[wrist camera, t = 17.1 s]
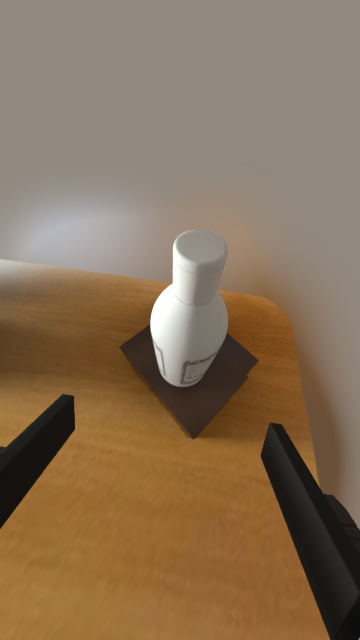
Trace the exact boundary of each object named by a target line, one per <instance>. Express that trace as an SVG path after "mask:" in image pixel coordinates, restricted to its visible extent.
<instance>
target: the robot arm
mask: <svg viewBox="0 0 360 640" xmlns="http://www.w3.org/2000/svg"><path fill="white" fill-rule="evenodd" d="M74 430H75V414H74V396H72V395H65V394H62V395H61V396H60V397H59V398H58V399H57V400H56V401H55V402H54V403H53V404H52V405H51V406H50V407H49V408H47V409H46V410H45V411H44V412H43V413H42V414H41V415H40V416H39V417H38V418H37V419H36V420H35V421H34V422H33V423H31V424H30V425H29V426H28V427H27V428H26V429H25V430H24V431H23V432H22V433H21V434H20V435H19V436H18V437H17V438H15V439H14V440H13V441H12V442H11V443H10V444H9V445H8V446H7V447H0V529H1V527H2V526H3V525H4V523H5V522H6V521H7V519H8V518H9V517H10V515H11V514H12V513H13V511H14V510H15V509H16V507H17V506H18V505H19V503H20V502H21V501H22V499H23V498H24V497H25V495H26V494H27V493H28V491H29V490H30V489H31V487H32V486H33V485H34V483H35V482H36V481H37V479H38V478H39V477H40V475H41V474H42V473H43V471H44V470H45V469H46V467H47V466H48V465H49V463H50V462H51V461H52V459H53V458H54V457H55V455H56V454H57V452H58V451H59V450H60V448H61V447H62V446H63V444H64V443H65V442H66V440H67V439H68V438H69V436H70V435H71V434H72V432H73V431H74ZM261 458H262V461H263V464H264V466H265V469H266V472H267V474H268V477H269V479H270V482H271V485H272V487H273V490H274V493H275V495H276V498H277V500H278V503H279V506H280V508H281V511H282V514H283V516H284V519H285V521H286V524H287V527H288V529H289V532H290V535H291V537H292V540H293V543H294V545H295V548H296V550H297V553H298V556H299V558H300V561H301V564H302V566H303V569H304V571H305V574H306V577H307V579H308V582H309V585H310V587H311V590H312V592H313V595H314V598H315V600H316V603H317V606H318V608H319V611H320V613H321V616H322V619H323V621H324V624H325V627H326V629H327V632H328V634H329V637H330V640H358V639H359V638H360V530H359V528H357V525H356V524H355V522H354V520H353V519H352V518H351V516H350V515H349V513H348V512H347V510H346V509H345V508H344V507H343V505H342V504H341V503H340V502H339V501H338V500H337V499H336V498H335V497H334V496H333V495H327V494H323V493H322V491H321V489H320V488H319V486H318V484H317V483H316V481H315V479H314V478H313V476H312V474H311V473H310V471H309V469H308V468H307V466H306V464H305V463H304V461H303V459H302V458H301V456H300V454H299V453H298V451H297V449H296V448H295V446H294V444H293V443H292V441H291V439H290V438H289V436H288V434H287V433H286V431H285V429H284V428H283V426H282V424H275V423H270V424H269V427H268V431H267V434H266V438H265V441H264V445H263V448H262V452H261Z"/></svg>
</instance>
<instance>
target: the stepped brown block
mask: <svg viewBox="0 0 360 640" xmlns="http://www.w3.org/2000/svg"><path fill="white" fill-rule="evenodd" d="M120 349H121V351H122V352H123V354H124V355H125V357H126V358H127V360H128V361H129V363H130V365H131V366H132V367H133V369H134V370H135V371H136V372H137V374H138V375H139V376H140V377H141V379H142V380H143V381H144V382H145V384H146V385H147V386H148V387H149V389H150V390H151V391H152V392H153V394H154V395H155V396H156V397H157V399H158V400H159V401H160V402H161V404H162V405H163V406H164V407H165V409H166V410H167V411H168V412H169V414H170V415H171V416H172V417H173V419H174V420H175V421H176V422H177V424H178V425H179V426H180V427H181V429H182V430H183V431H184V432H185V434H186V435H187V436H188V437H190V438H192V439H195V438H196V437H197V436H198V435H199V434H200V432H201V431H202V430H203V429H204V428H205V427H206V425H207V424H208V423H209V422H210V421H211V420H212V419H213V417H214V416H215V415H216V414H217V413H218V412H219V411H220V409H221V408H222V407H223V406H224V405H225V404H226V403H227V401H228V400H229V399H230V398H231V397H232V396H233V394H234V393H235V392H236V391H237V390H238V389H239V388H240V386H241V385H242V384H243V383H244V382H245V381H246V380H247V378H248V376H247V374H248V372H249V371H250V370H251V369H252V368H253V367H254V366H255V364H256V363H257V362H258V360H257V359H256V358H255V357H254V356H253V355H252V354H250V353H249V352H248V351H247V350H246V349H245V348H244V347H242V346H241V345H240V344H239V343H238V342H237V341H235V340H234V339H233V338H232V337H231V336H230V335H229V334H227V333H226V337H225V340H224V342H223V344H222V346H221V347H220V349H219V351H218V352H217V354H216V356H215V357H214V359H213V361H212V363H211V364H210V366H209V368H208V369H207V371H206V373H205V374H204V376H203V377H202V378H201V380H199V381H198V382H197V383H196V384H194V385H191V386H188V387H178V386H175V385H172V384H170V383H169V382H168V381H166V380H165V379H164V377H163V376H162V374H161V372H160V370H159V366H158V362H157V357H156V353H155V348H154V344H153V339H152V334H151V329H150V325H149V326H147V327H146V328H145V329H143V330H142V331H141V332H139V333H138V334H136V335H135V336H134V337H132V338H131V339H130V340H128V341H127V342H126V343H124V344H123V345H121V346H120Z"/></svg>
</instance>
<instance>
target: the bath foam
mask: <svg viewBox="0 0 360 640" xmlns="http://www.w3.org/2000/svg"><path fill="white" fill-rule="evenodd" d="M227 254H228V247H227V244H226V242H225V241H224V239H223V238H222V237H220V236H219V235H217V234H216V233H214V232H211V231H208V230H202V229H196V230H189V231H186V232H184V233H182V234H181V235H179V236H178V237H177V239H176V240H175V242H174V246H173V283H172V284H171V285H170V286H168V287H167V288H166V289H165V290H164V291H163V292H162V293H161V294H160V296H159V297H158V299H157V300H156V302H155V304H154V307H153V310H152V314H151V324H150V329H151V334H152V339H153V344H154V348H155V353H156V357H157V362H158V366H159V370H160V372H161V374H162V376H163V377H164V379H165V380H166V381H168V382H169V383H170V384H172V385H175V386H178V387H188V386H191V385H194V384H196V383H197V382H198V381H199V380H201V378H202V377H203V376H204V374H205V373H206V371H207V369H208V368H209V366H210V364H211V363H212V361H213V359H214V357H215V356H216V354H217V352H218V351H219V349H220V347H221V346H222V344H223V342H224V340H225V337H226V333H227V329H228V313H227V308H226V305H225V303H224V301H223V299H222V297H221V295H220V294H219V292H218V291H217V286H218V283H219V280H220V277H221V274H222V271H223V267H224V265H225V261H226V258H227Z"/></svg>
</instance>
